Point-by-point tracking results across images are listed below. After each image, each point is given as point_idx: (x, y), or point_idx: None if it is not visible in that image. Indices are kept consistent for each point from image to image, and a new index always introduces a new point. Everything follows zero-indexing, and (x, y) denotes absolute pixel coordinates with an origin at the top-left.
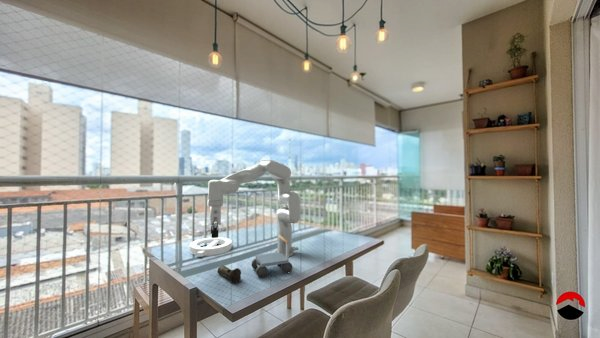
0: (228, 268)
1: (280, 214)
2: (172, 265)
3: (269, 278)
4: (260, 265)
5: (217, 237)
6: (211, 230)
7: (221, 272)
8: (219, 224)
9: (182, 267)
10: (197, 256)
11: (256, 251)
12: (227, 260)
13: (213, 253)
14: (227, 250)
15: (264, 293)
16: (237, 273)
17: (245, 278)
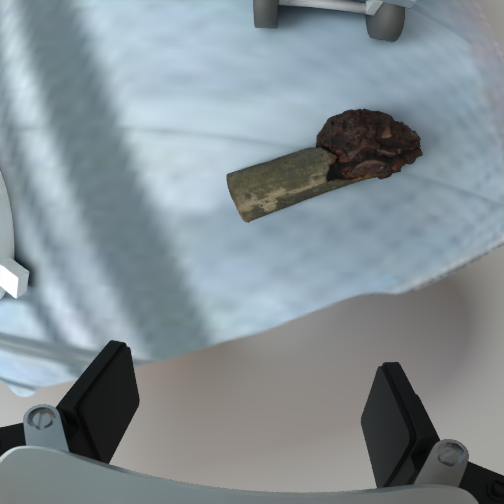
0: (298, 167)
1: None
2: None
3: None
4: (385, 3)
5: (395, 366)
6: (127, 425)
7: (290, 205)
8: (468, 501)
9: None
10: (26, 290)
11: (38, 11)
12: (81, 149)
13: (6, 219)
14: None
15: (501, 84)
16: (408, 140)
17: (361, 92)
